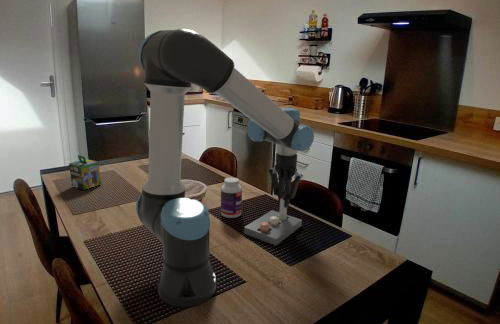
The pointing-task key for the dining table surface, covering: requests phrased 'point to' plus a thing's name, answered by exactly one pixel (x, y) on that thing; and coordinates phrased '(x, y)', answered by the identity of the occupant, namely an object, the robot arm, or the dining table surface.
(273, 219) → the cream button
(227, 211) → the pill bottle
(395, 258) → the dining table surface
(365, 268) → the dining table surface
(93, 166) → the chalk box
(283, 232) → the panel
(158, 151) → the robot arm
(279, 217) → the sage button
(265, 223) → the terracotta button
